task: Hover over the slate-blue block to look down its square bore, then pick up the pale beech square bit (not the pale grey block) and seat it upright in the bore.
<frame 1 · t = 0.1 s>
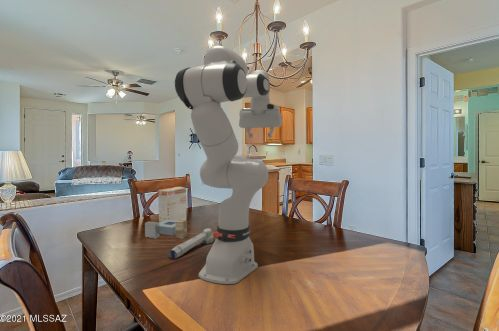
hand: (260, 137, 125), 48 cm above the table, tool pointing down, fingers open, 8 cm apart
pale grey block: (152, 236, 130), on the table
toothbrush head: (193, 249, 115), on the table
coffeecake box: (173, 221, 158), on the table
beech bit: (181, 236, 130), on the table
bore block: (170, 230, 139), on the table
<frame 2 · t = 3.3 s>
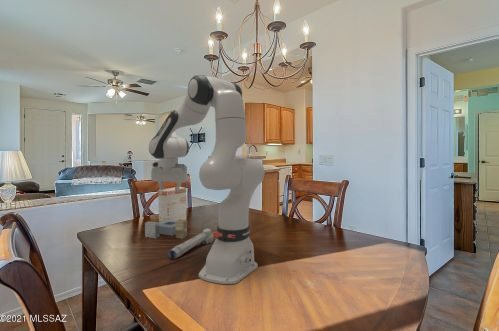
hand: (169, 190, 138), 21 cm above the table, tool pointing down, fingers open, 8 cm apart
nothing on the table moved.
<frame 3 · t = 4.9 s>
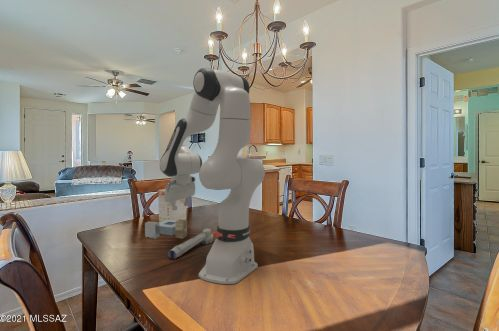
hand: (180, 207, 129), 14 cm above the table, tool pointing down, fingers open, 8 cm apart
nothing on the table moved.
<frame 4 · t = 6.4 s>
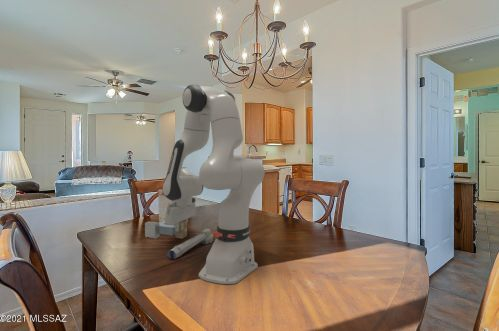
hand: (181, 229, 130), 4 cm above the table, tool pointing down, fingers closed on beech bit, 4 cm apart
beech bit: (181, 236, 130), on the table, touching gripper
everything else where it was.
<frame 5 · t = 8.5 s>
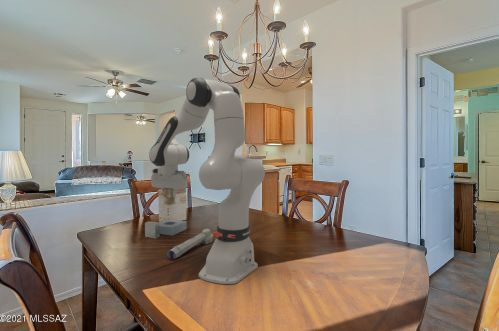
hand: (169, 196, 138), 18 cm above the table, tool pointing down, fingers closed on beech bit, 4 cm apart
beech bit: (169, 203, 138), point 14 cm above the table, touching gripper
everything else where it was.
when the fingers open (5 cm above the table, at t = 10.8 s): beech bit drops 1 cm, resting in bore block.
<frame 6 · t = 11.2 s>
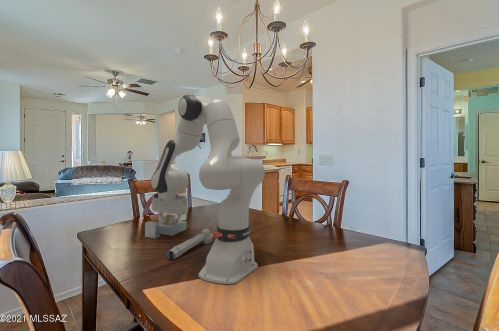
hand: (170, 221, 139), 5 cm above the table, tool pointing down, fingers open, 8 cm apart
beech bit: (170, 231, 139), resting in bore block
everything else where it was.
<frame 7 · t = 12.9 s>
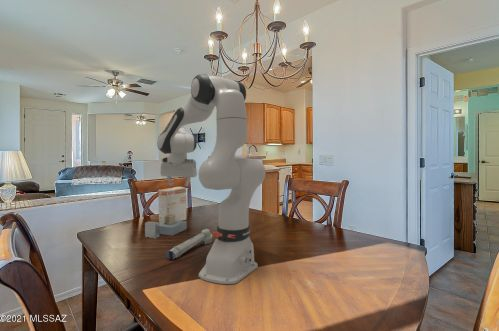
hand: (178, 185, 141), 23 cm above the table, tool pointing down, fingers open, 8 cm apart
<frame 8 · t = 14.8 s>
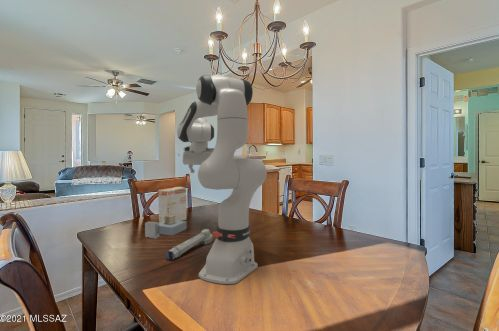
hand: (199, 173, 148), 29 cm above the table, tool pointing down, fingers open, 8 cm apart
at the end: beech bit 0.1 cm off-centre on the bore block, point 0.0 cm above the bore block's base; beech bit tilted 0°; the gripper is holding nothing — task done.
